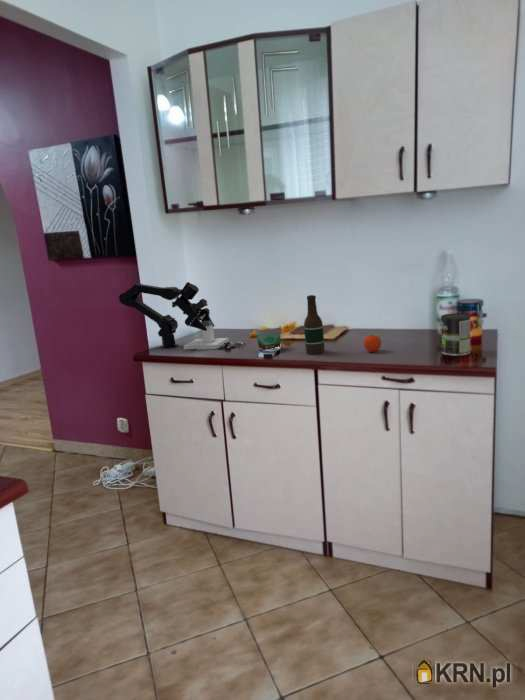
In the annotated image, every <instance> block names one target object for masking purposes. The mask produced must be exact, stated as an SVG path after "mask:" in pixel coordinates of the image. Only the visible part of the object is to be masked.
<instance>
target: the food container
mask: <svg viewBox="0 0 525 700" xmlns="http://www.w3.org/2000/svg"><path fill="white" fill-rule="evenodd" d="M282 332H283V330H282V327H281V326H279V327H276V328H265V329H255V331H254V335H256V340H257V344H258V349H259V351H260V352H261V351H263V350H265V349H271V348H275V347H278V346H279V347H280V348H281V333H282Z"/></svg>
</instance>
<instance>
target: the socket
mask: <svg viewBox="0 0 525 700" xmlns="http://www.w3.org/2000/svg"><path fill="white" fill-rule="evenodd" d="M226 342H228V343H229V342H230V341H229V337H221V338H219V337H217V338H215V337H214V342H212V343H204V341H203V338H196V339H194V340H192V341H190V342H189V343H186V344H184V345H183V349H197V350H218V349H219V348H221V347H223V346H224V345H225V344H224V343H226ZM223 344H224V345H223ZM226 344H227V343H226ZM222 345H223V346H222ZM220 346H221V347H220ZM217 348H218V349H217Z"/></svg>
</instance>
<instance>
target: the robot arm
mask: <svg viewBox="0 0 525 700" xmlns="http://www.w3.org/2000/svg"><path fill="white" fill-rule="evenodd" d="M199 291H200V289H199V288H198V286H197V285H195V284H193V283H190V282H189V281H188V282H186V283H185V285H184V286H183V288H181V289H180V288H179V287H176V286H165V287H161V286H156V285H155V286H154V285H150V284H143V283H135V284H133V286H132V287H130V288H129V289H127V290H126V291H125V292H122V293H120V294H119V295H118V301H119V303H120V304H122V305H123V306H125V307H129V308H131V309H132V308H133V309H135V310H137V311H138V312H140V313H141V314H142V315H144V316H146V317H147V318H149V319H150V320H152V322H154V323H156V324H157V326H158V327H159V330H158V331H157V334H158V337H161V342H162V343H161V346H160V347H159V348H162V349H163V348H164V349H170V348H174V347H178V346H179V345H178V344H176V339H175V333H176V331H177V329H178V328H179V327H178V326H179V324H178V321H177V320H176V318H174V317H172V316H171V315H170V314H166V315H162V314H161V313H159V312H158V311H156V310H155V309H153V308H152V307H150V306H148V305H147V304H146V303H144V302H143V301H141V300H140V298H139V297H138V296H140V294H141V293H142V294H148V295H153V296H158V297H161V298H162V299H165V300H167V301H172V302H171V306H172V308H179V309H180V310H181V311H182V314H183V315H186V316H187V317H186V318H185V319H184V324H185V326H187V327H190V328H194V329H198V330H201V331H202V330H204V331H206V330H207V329H206V327H205V326H204V325H203V324H202V323H201V322H203V321H212V324H213V328H214V327H215V323H214V322H213V320H212V319H211V317H210V313H211V312H210V311H211V310H210V309H209V308H207V306H209V305H208V301H207V300H206V299H205V298H201V299H199V301H198V302H196V303H195V302H194V303H193V302H190V300H191V301H192V300H193V299H194V298H195V296H196V295H197V294H198V292H199ZM173 300H174V301H173ZM204 307H205V308H204Z"/></svg>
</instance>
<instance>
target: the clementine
mask: <svg viewBox="0 0 525 700" xmlns="http://www.w3.org/2000/svg"><path fill="white" fill-rule="evenodd" d="M381 339H382V338H381V335H379V334H369V335H367V336H366V337H365V338H364V340H363V347H364V348H365V350H366V351H368V352H370V353H375V352H377V351H379V350H380V349H381V346H382V340H381Z"/></svg>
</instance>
